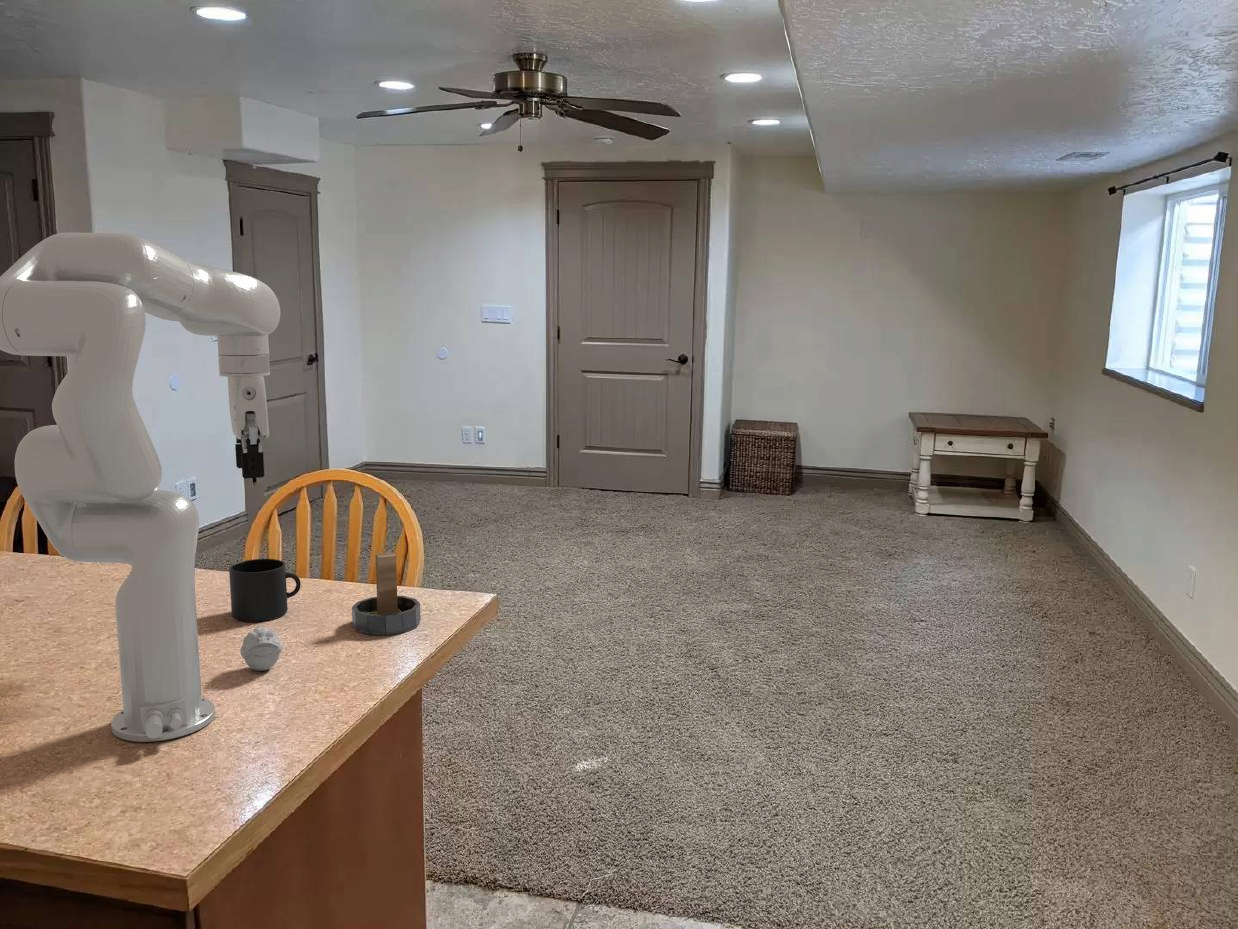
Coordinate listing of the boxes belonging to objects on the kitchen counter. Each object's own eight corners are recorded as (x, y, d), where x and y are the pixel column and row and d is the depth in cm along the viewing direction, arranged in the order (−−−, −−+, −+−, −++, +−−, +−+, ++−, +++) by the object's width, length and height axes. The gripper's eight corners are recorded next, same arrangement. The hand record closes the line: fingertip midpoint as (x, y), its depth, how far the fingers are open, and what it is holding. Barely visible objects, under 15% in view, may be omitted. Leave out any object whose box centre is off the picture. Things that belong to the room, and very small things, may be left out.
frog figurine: (243, 681, 144) (240, 636, 143) (239, 665, 151) (237, 622, 149) (286, 675, 147) (284, 631, 146) (280, 659, 153) (278, 617, 152)
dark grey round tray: (426, 630, 167) (426, 610, 167) (361, 639, 162) (360, 619, 162) (410, 611, 177) (410, 592, 177) (347, 619, 172) (347, 600, 172)
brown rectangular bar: (397, 622, 170) (396, 555, 168) (380, 624, 168) (378, 557, 166) (394, 618, 172) (392, 552, 170) (377, 620, 170) (375, 554, 168)
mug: (307, 616, 174) (304, 567, 172) (235, 626, 168) (232, 575, 167) (296, 601, 182) (294, 554, 181) (228, 610, 176) (225, 562, 175)
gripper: (276, 369, 148) (281, 480, 151) (263, 362, 163) (268, 462, 166) (223, 370, 144) (229, 483, 147) (214, 362, 160) (220, 465, 163)
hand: (250, 472), depth 157 cm, fingers open, 9 cm apart
